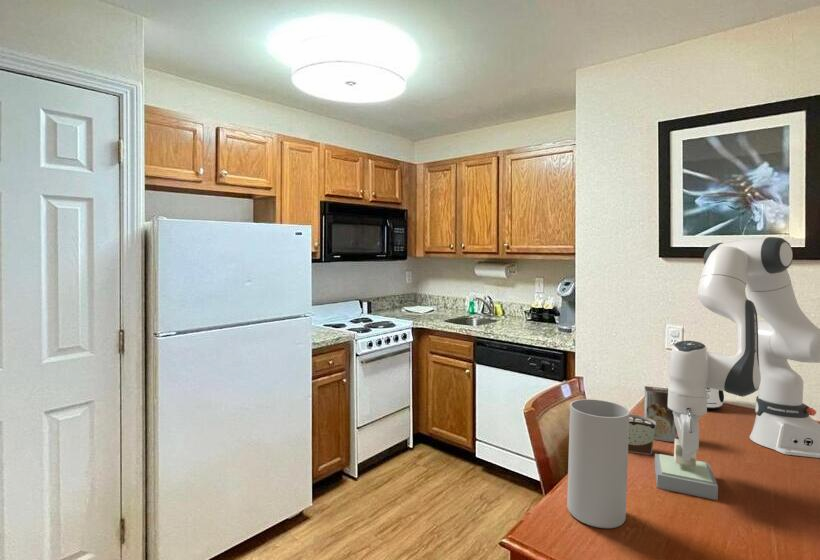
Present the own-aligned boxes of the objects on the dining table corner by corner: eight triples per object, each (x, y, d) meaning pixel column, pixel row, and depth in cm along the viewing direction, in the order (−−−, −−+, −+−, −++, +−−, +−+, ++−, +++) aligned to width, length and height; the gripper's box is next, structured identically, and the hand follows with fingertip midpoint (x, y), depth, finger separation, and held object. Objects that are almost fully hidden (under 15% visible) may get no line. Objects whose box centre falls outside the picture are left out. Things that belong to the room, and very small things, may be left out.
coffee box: (673, 435, 150) (675, 388, 149) (676, 443, 144) (679, 394, 143) (642, 431, 153) (644, 385, 152) (644, 438, 147) (646, 390, 146)
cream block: (693, 459, 120) (694, 441, 119) (695, 466, 116) (696, 447, 115) (673, 456, 122) (674, 438, 121) (675, 463, 118) (676, 444, 117)
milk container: (683, 410, 175) (685, 365, 174) (666, 397, 192) (667, 355, 191) (732, 413, 172) (734, 367, 171) (710, 399, 189) (712, 357, 188)
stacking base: (708, 475, 122) (709, 461, 122) (717, 500, 110) (718, 484, 109) (654, 465, 128) (655, 451, 128) (657, 487, 115) (657, 472, 115)
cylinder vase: (596, 535, 95) (600, 420, 94) (555, 505, 107) (558, 402, 105) (638, 522, 100) (642, 413, 99) (594, 495, 112) (598, 396, 110)
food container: (653, 447, 140) (654, 416, 140) (656, 455, 134) (658, 423, 134) (610, 441, 144) (611, 411, 144) (612, 449, 138) (613, 417, 138)
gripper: (707, 417, 107) (704, 474, 108) (695, 394, 125) (693, 442, 126) (676, 413, 110) (674, 468, 111) (670, 391, 128) (668, 438, 129)
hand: (684, 454), depth 118 cm, fingers closed on cream block, 4 cm apart
